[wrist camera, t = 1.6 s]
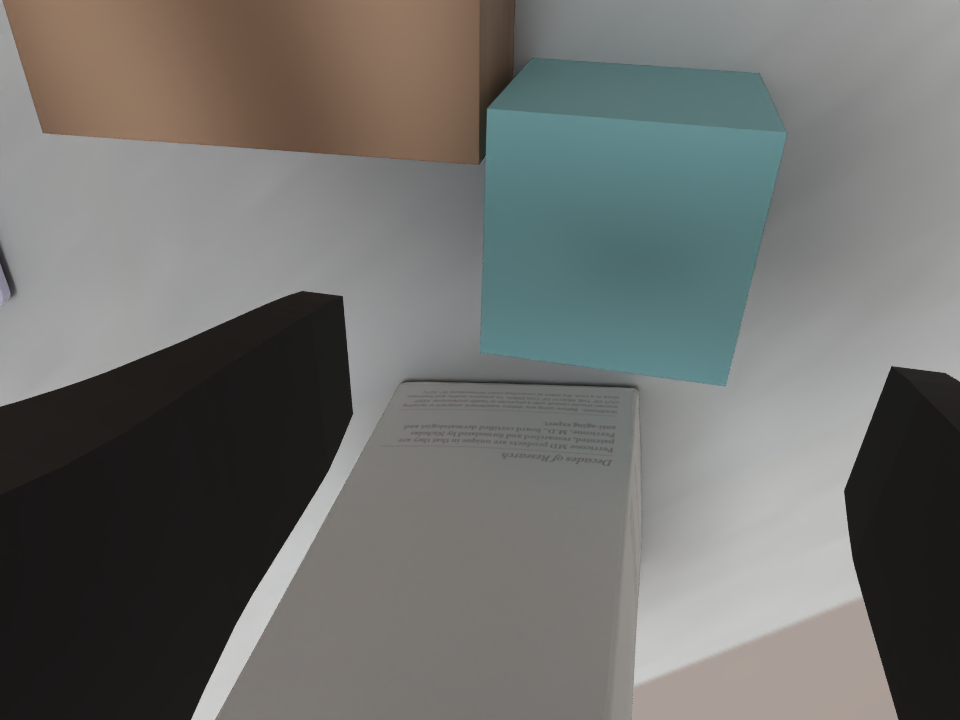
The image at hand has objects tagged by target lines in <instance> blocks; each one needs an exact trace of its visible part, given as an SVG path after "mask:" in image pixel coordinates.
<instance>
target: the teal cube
mask: <svg viewBox="0 0 960 720" xmlns="http://www.w3.org/2000/svg"><path fill="white" fill-rule="evenodd" d="M786 136H787V131H786V129H785V127H784V125H783V122H782V120H781V118H780V116H779V114H778V112H777V110H776V108H775V106H774V103H773V101H772V99H771V97H770V95H769V93H768V91H767V89H766V87H765V84H764V82H763V80H762V78H761V76H760V74H759V73H750V72H735V71H720V70H705V69H690V68H675V67H660V66H645V65H630V64H615V63H600V62H585V61H570V60H555V59H540V58H532V59H531V60H530V61H529V62H528V63H527V64H526V65H525V67H524V68H523V69H522V70H521V71H520V72H519V73H518V74H517V76H516V77H515V78H514V79H513V80H512V81H511V82H510V83H509V85H508V86H507V87H506V88H505V89H504V90H503V91H502V92H501V94H500V95H499V96H498V97H497V98H496V99H495V100H494V101H493V103H492V104H491V105H490V106H489V107H488V108H487V128H486V164H485V199H484V235H483V270H482V306H481V341H480V353H487V354H495V355H502V356H509V357H516V358H524V359H531V360H538V361H545V362H552V363H560V364H567V365H574V366H581V367H589V368H596V369H603V370H610V371H618V372H625V373H632V374H639V375H647V376H654V377H661V378H668V379H676V380H683V381H690V382H697V383H705V384H712V385H719V386H726V383H727V379H728V374H729V370H730V366H731V362H732V358H733V354H734V350H735V346H736V342H737V337H738V333H739V329H740V325H741V321H742V317H743V313H744V309H745V305H746V300H747V296H748V292H749V288H750V284H751V280H752V276H753V272H754V268H755V263H756V259H757V255H758V251H759V247H760V243H761V239H762V235H763V231H764V226H765V222H766V218H767V214H768V210H769V206H770V202H771V198H772V194H773V189H774V185H775V181H776V177H777V173H778V169H779V165H780V161H781V157H782V152H783V148H784V144H785V140H786Z"/></svg>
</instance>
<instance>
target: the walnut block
mask: <svg viewBox="0 0 960 720" xmlns="http://www.w3.org/2000/svg"><path fill="white" fill-rule="evenodd" d="M3 4H4V7H5V10H6V14H7V17H8V20H9V23H10V27H11V30H12V33H13V36H14V40H15V43H16V46H17V49H18V53H19V56H20V59H21V63H22V66H23V69H24V72H25V76H26V79H27V82H28V85H29V89H30V92H31V95H32V99H33V102H34V105H35V108H36V112H37V115H38V118H39V121H40V125H41V128H42V131H43V133H48V134H61V135H75V136H89V137H103V138H117V139H131V140H144V141H158V142H172V143H186V144H200V145H214V146H227V147H241V148H255V149H269V150H283V151H297V152H310V153H324V154H338V155H352V156H366V157H380V158H393V159H407V160H421V161H435V162H449V163H463V164H476V165H479V164H480V163H481V161H482V160H483V158H484V157H485V156H486V128H487V108H488V107H489V106H490V105H491V104H492V103H493V101H494V100H495V99H496V98H497V97H498V96H499V95H500V94H501V92H502V91H503V90H504V89H505V88H506V87H507V86H508V85H509V83H510V82H511V81H512V80H513V55H514V17H515V0H3Z"/></svg>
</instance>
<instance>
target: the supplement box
mask: <svg viewBox="0 0 960 720" xmlns="http://www.w3.org/2000/svg"><path fill="white" fill-rule="evenodd" d="M641 532H642V489H641V452H640V419H639V392H638V390H636V389H634V388H621V387H596V386H556V385H523V384H501V383H450V382H406V383H402V384H400V385H399V387H398V388H397V390H396V392H395V393H394V395H393V397H392V399H391V401H390V402H389V404H388V406H387V408H386V410H385V412H384V413H383V415H382V417H381V419H380V421H379V422H378V424H377V426H376V428H375V429H374V431H373V433H372V435H371V437H370V438H369V440H368V442H367V444H366V446H365V447H364V449H363V451H362V453H361V455H360V457H359V458H358V460H357V462H356V464H355V466H354V468H353V470H352V471H351V473H350V475H349V477H348V479H347V480H346V482H345V484H344V486H343V488H342V490H341V491H340V493H339V495H338V497H337V499H336V500H335V502H334V504H333V506H332V508H331V510H330V511H329V513H328V515H327V517H326V519H325V521H324V522H323V524H322V526H321V528H320V530H319V532H318V534H317V535H316V537H315V539H314V541H313V543H312V544H311V546H310V548H309V550H308V552H307V554H306V556H305V557H304V559H303V561H302V563H301V565H300V566H299V568H298V570H297V572H296V574H295V575H294V577H293V579H292V581H291V583H290V584H289V586H288V588H287V590H286V592H285V593H284V595H283V597H282V599H281V601H280V603H279V604H278V606H277V608H276V610H275V612H274V614H273V615H272V617H271V619H270V621H269V623H268V625H267V626H266V628H265V630H264V632H263V634H262V636H261V637H260V639H259V641H258V643H257V645H256V647H255V648H254V650H253V652H252V654H251V656H250V658H249V659H248V661H247V663H246V665H245V667H244V668H243V670H242V672H241V674H240V675H239V677H238V679H237V681H236V683H235V685H234V686H233V688H232V690H231V692H230V694H229V695H228V697H227V699H226V701H225V703H224V705H223V706H222V708H221V710H220V712H219V714H218V716H217V717H216V719H215V720H632V702H633V701H632V700H633V682H634V662H635V643H636V626H637V608H638V593H639V580H640V563H641Z"/></svg>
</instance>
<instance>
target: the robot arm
mask: <svg viewBox="0 0 960 720" xmlns="http://www.w3.org/2000/svg"><path fill="white" fill-rule="evenodd" d="M10 296H11V295H10V290H9V287H8V284H7V281H6V279H5V276H4V273H3V270H2V267H1V264H0V306H1V305H2V304H4V303H5V302H7V301H8V300H9V299H10ZM352 415H353V409H352V398H351V386H350V375H349V363H348V352H347V340H346V329H345V317H344V306H343V296H337V295H329V294H321V293H313V292H306V291H301V292H298V293H295V294H291V295H288V296H286V297H283V298H280V299H278V300H275V301H273V302H270V303H268V304H266V305H263V306H261V307H259V308H256V309H254V310H252V311H249V312H247V313H245V314H243V315H241V316H238V317H236V318H234V319H232V320H229V321H227V322H225V323H223V324H220V325H218V326H216V327H214V328H211V329H209V330H207V331H205V332H202V333H200V334H198V335H196V336H193V337H191V338H189V339H187V340H184V341H182V342H180V343H178V344H175V345H173V346H170V347H168V348H165V349H163V350H160V351H158V352H155V353H153V354H150V355H148V356H145V357H143V358H140V359H138V360H136V361H133V362H131V363H128V364H126V365H123V366H121V367H118V368H116V369H113V370H111V371H108V372H106V373H103V374H100V375H98V376H95V377H92V378H89V379H86V380H84V381H81V382H78V383H75V384H72V385H69V386H66V387H63V388H60V389H57V390H54V391H51V392H47V393H44V394H41V395H38V396H35V397H32V398H28V399H25V400H22V401H19V402H15V403H12V404H9V405H5V406H2V407H0V720H191V718H192V716H193V714H194V712H195V709H196V707H197V705H198V703H199V700H200V698H201V696H202V694H203V692H204V689H205V687H206V685H207V683H208V681H209V679H210V677H211V675H212V673H213V671H214V669H215V667H216V664H217V662H218V660H219V658H220V656H221V654H222V652H223V650H224V648H225V646H226V644H227V642H228V640H229V637H230V635H231V633H232V631H233V629H234V627H235V625H236V623H237V621H238V620H239V618H240V616H241V614H242V612H243V611H244V609H245V607H246V605H247V604H248V602H249V600H250V598H251V596H252V595H253V593H254V591H255V590H256V588H257V587H258V585H259V583H260V582H261V580H262V578H263V577H264V575H265V574H266V572H267V570H268V569H269V567H270V566H271V564H272V562H273V561H274V559H275V558H276V556H277V554H278V553H279V551H280V549H281V548H282V546H283V545H284V543H285V541H286V540H287V538H288V537H289V535H290V533H291V532H292V530H293V529H294V527H295V525H296V524H297V522H298V521H299V519H300V517H301V516H302V514H303V512H304V511H305V509H306V507H307V506H308V504H309V503H310V501H311V499H312V498H313V496H314V494H315V493H316V491H317V489H318V488H319V486H320V484H321V483H322V481H323V479H324V478H325V476H326V474H327V473H328V471H329V469H330V467H331V464H332V462H333V460H334V458H335V455H336V453H337V451H338V449H339V447H340V444H341V442H342V439H343V437H344V435H345V432H346V430H347V427H348V425H349V422H350V420H351V417H352ZM844 494H845V503H846V512H847V521H848V530H849V536H850V543H851V550H852V557H853V562H854V566H855V570H856V573H857V577H858V581H859V584H860V588H861V592H862V595H863V599H864V602H865V606H866V609H867V613H868V616H869V620H870V623H871V626H872V630H873V634H874V637H875V641H876V644H877V647H878V651H879V654H880V658H881V661H882V665H883V667H884V671H885V675H886V678H887V682H888V685H889V688H890V692H891V695H892V699H893V702H894V706H895V709H896V713H897V716H898V719H899V720H960V382H959V381H958V380H956V379H954V378H953V377H951V376H949V375H948V374H946V373H940V372H932V371H924V370H917V369H909V368H901V367H893V366H892V367H891V369H890V372H889V374H888V377H887V380H886V382H885V385H884V388H883V390H882V393H881V395H880V398H879V401H878V403H877V406H876V409H875V411H874V414H873V416H872V419H871V422H870V424H869V427H868V430H867V432H866V435H865V437H864V440H863V443H862V445H861V448H860V451H859V453H858V456H857V458H856V461H855V464H854V466H853V469H852V472H851V474H850V477H849V479H848V482H847V485H846V487H845V490H844Z"/></svg>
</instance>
